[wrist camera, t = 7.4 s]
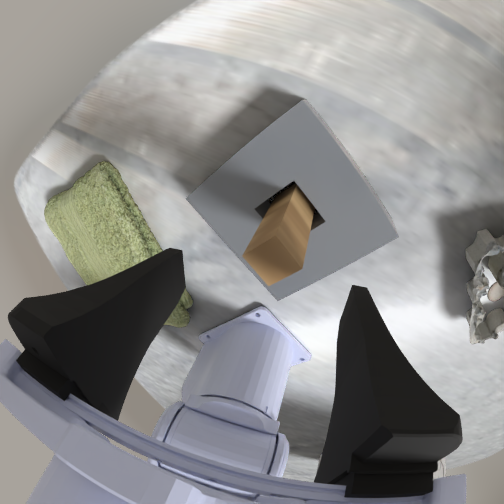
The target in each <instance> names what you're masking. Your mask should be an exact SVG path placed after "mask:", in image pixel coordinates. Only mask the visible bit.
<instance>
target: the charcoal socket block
mask: <svg viewBox="0 0 504 504" xmlns="http://www.w3.org/2000/svg"><path fill="white" fill-rule="evenodd" d="M292 181H295V182H296V184H297V185H298V186H299V187H300V189H301V190H302V191H303V193H304V194H305V195H306V196H307V198H308V199H309V200H310V202H311V203H312V204H313V205H314V207H315V208H316V209H317V211H318V213H316V214H315V215H313V220H312V225H311V230H310V235H309V240H308V245H307V250H306V254H305V259H304V264H303V268H302V269H301V270H299V271H297V272H296V273H294V274H292V275H290V276H288V277H286V278H284V279H282V280H280V281H278V282H276V283H274V284H272V285H270V286H268V285H267V284H266V283H265V282H264V281H263V279H262V278H261V277H260V276H259V275H258V274H257V273H256V271H255V270H254V269H253V268H252V267H251V266H250V265H249V263H248V262H247V261H246V260H245V259H244V258H243V257H242V255H243V254H244V252H245V250H246V248H247V246H248V245H249V243H250V241H251V239H252V237H253V236H254V234H255V232H256V230H257V229H258V227H259V225H260V223H261V221H262V220H263V218H264V216H265V214H266V213H267V211H268V209H269V207H270V205H271V204H270V203H269V202H268V200H267V199H269V198H270V197H271V196H273V195H274V194H276V193H277V192H278V191H280V190H281V189H283V188H284V187H285V186H287V185H288V184H290V183H291V182H292ZM186 200H187V201H188V202H189V203H190V204H191V205H192V206H193V208H194V209H195V210H196V211H197V212H198V213H199V214H200V215H201V217H202V218H203V219H204V220H205V221H206V222H207V223H208V224H209V226H210V227H211V228H212V229H213V230H214V231H215V232H216V233H217V234H218V236H219V237H220V238H221V239H222V240H223V241H224V242H225V243H226V244H227V246H228V247H229V248H230V249H231V250H232V251H233V252H234V253H235V254H236V256H237V257H238V258H239V259H240V260H241V261H242V262H243V263H244V264H245V266H246V267H247V268H248V269H249V270H250V271H251V272H252V273H253V274H254V276H255V277H256V278H257V279H258V280H259V281H260V282H261V283H262V284H263V285H264V287H265V288H266V289H267V290H268V291H269V292H270V293H271V294H272V295H273V296H274V297H275V299H276V300H277V301H279V300H281V299H283V298H285V297H287V296H289V295H291V294H293V293H295V292H297V291H299V290H301V289H303V288H305V287H307V286H309V285H311V284H313V283H315V282H317V281H318V280H320V279H322V278H324V277H326V276H328V275H330V274H332V273H334V272H336V271H338V270H340V269H341V268H343V267H345V266H347V265H349V264H351V263H353V262H355V261H356V260H358V259H360V258H362V257H364V256H366V255H367V254H369V253H371V252H373V251H375V250H376V249H378V248H380V247H382V246H383V245H385V244H387V243H389V242H391V241H392V240H394V239H396V238H398V237H399V236H398V234H397V231H396V228H395V225H394V223H393V220H392V218H391V217H390V215H389V213H388V212H387V210H386V209H385V207H384V205H383V204H382V202H381V200H380V199H379V197H378V196H377V194H376V193H375V191H374V189H373V188H372V186H371V185H370V183H369V182H368V180H367V179H366V177H365V176H364V174H363V173H362V171H361V170H360V169H359V167H358V166H357V164H356V163H355V161H354V160H353V159H352V157H351V156H350V154H349V153H348V152H347V150H346V149H345V148H344V146H343V145H342V143H341V142H340V141H339V139H338V138H337V137H336V135H335V134H334V133H333V132H332V130H331V129H330V128H329V126H328V125H327V124H326V123H325V121H324V120H323V119H322V118H321V116H320V115H319V114H318V113H317V112H316V110H315V109H314V108H313V107H312V105H311V104H310V103H309V102H308V101H307V100H306V99H305V100H301V101H300V102H299V103H297V104H296V105H295V106H294V107H292V108H291V109H290V110H288V111H287V112H286V113H284V114H283V115H282V116H281V117H279V118H278V119H277V120H276V121H274V122H273V123H272V124H271V125H269V126H268V127H267V128H266V129H264V130H263V131H262V132H261V133H259V134H258V135H257V136H256V137H255V138H253V139H252V140H251V141H250V142H249V143H247V144H246V145H245V146H244V147H243V148H241V149H240V150H239V151H238V152H237V153H236V154H234V155H233V156H232V157H231V158H230V159H229V160H228V161H226V162H225V163H224V164H223V165H222V166H221V167H220V168H218V169H217V170H216V171H215V172H214V173H213V174H212V175H211V176H210V177H208V178H207V179H206V180H205V181H204V182H203V183H202V184H201V185H200V186H199V187H198V188H196V189H195V190H194V191H193V192H192V193H191V194H190V195H189V196H188V197H187V198H186Z"/></svg>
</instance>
